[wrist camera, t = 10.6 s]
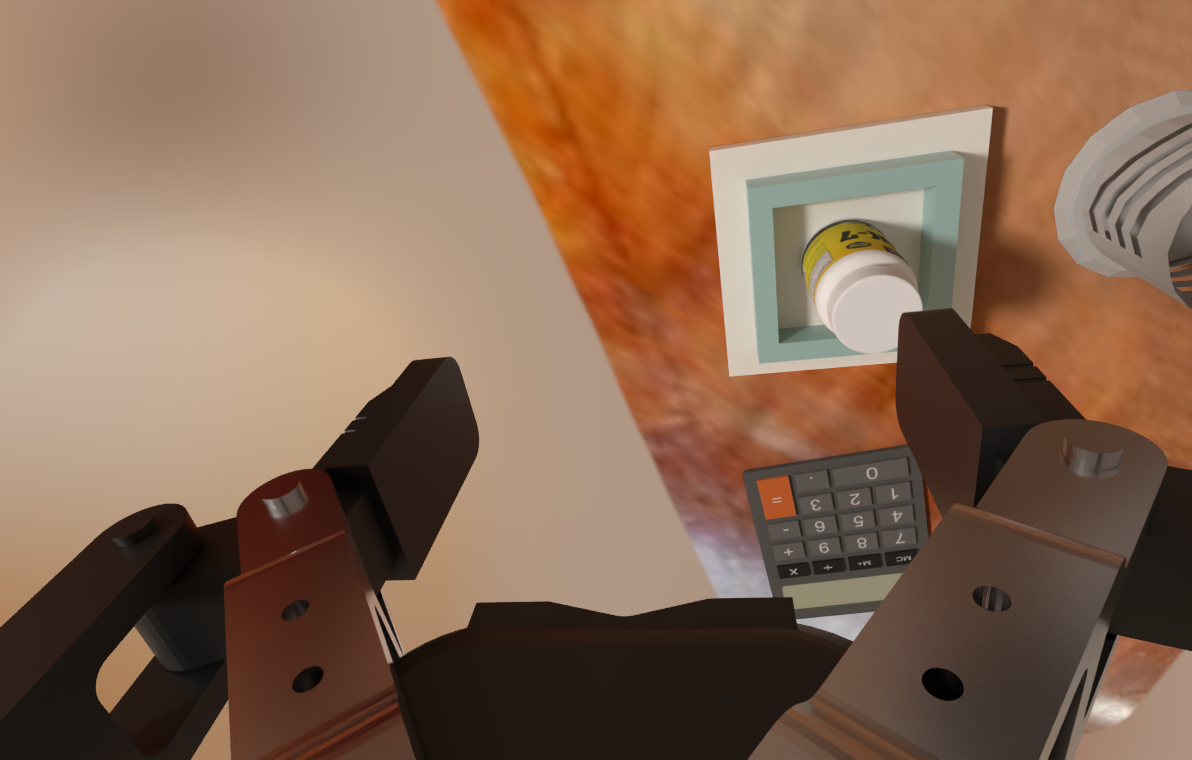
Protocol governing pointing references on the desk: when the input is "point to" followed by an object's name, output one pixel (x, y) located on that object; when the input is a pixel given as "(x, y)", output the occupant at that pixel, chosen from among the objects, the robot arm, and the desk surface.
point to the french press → (1134, 196)
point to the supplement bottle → (859, 284)
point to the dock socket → (834, 192)
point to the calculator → (838, 527)
